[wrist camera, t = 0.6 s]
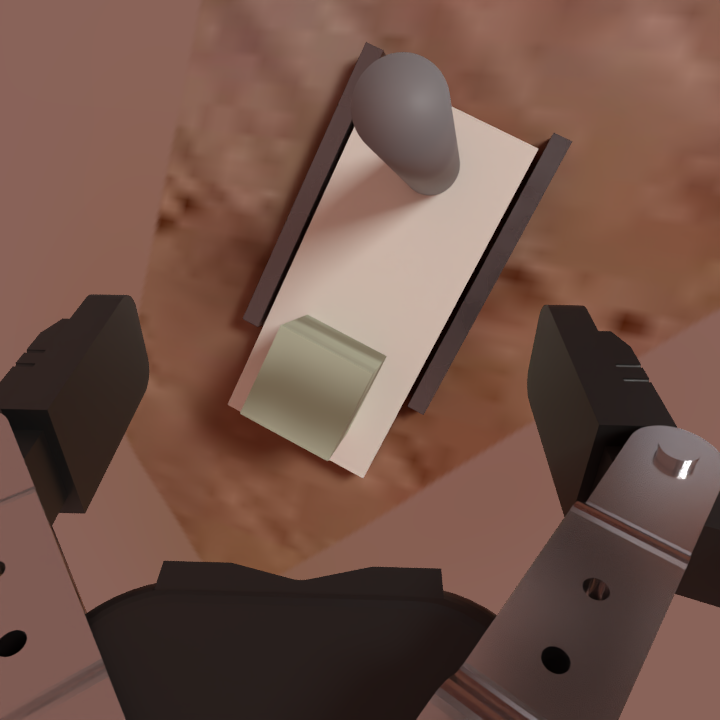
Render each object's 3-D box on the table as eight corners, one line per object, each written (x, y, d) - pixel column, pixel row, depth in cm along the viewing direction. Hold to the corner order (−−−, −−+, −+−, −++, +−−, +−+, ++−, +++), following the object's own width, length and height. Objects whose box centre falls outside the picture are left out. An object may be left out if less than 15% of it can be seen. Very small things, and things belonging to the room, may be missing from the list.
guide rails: (371, 51, 34) (366, 41, 32) (567, 146, 33) (572, 141, 31) (252, 315, 37) (242, 318, 36) (425, 407, 36) (423, 414, 35)
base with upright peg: (383, 79, 34) (310, -59, 19) (535, 153, 33) (588, 72, 18) (236, 398, 38) (83, 495, 23) (367, 469, 38) (296, 617, 22)
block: (307, 314, 35) (280, 325, 30) (386, 356, 35) (372, 373, 30) (271, 391, 36) (239, 413, 31) (347, 432, 36) (327, 461, 31)
